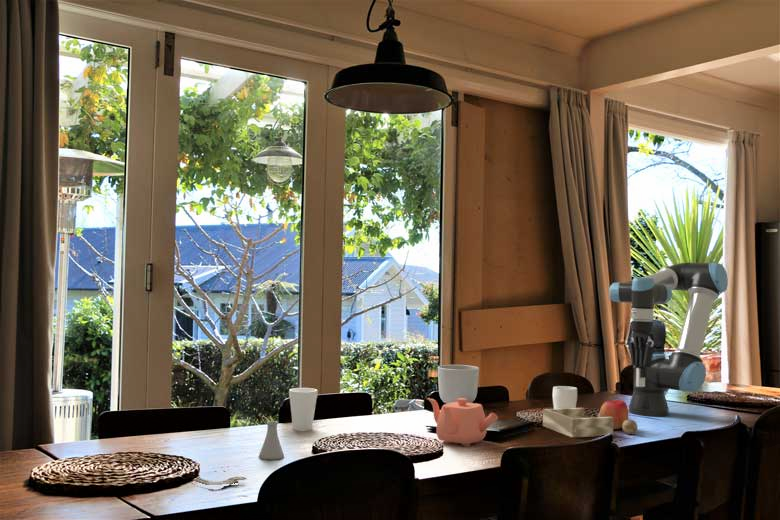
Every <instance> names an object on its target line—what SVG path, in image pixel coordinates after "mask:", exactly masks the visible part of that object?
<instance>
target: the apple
mask: <svg viewBox="0 0 780 520" xmlns="http://www.w3.org/2000/svg"><path fill="white" fill-rule="evenodd" d="M599 413H600V417H614V418H613V430H619V429H621V428H622V424H623V422H624V421H625V420H627V419H629V406H628V404H627V403H626V402H625V401H624V400H619V399H617V400H613V401H611V400H607V401H605V402H603V404H602V405H601V407H600V410H599Z"/></svg>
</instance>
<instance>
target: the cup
mask: <svg viewBox="0 0 780 520" xmlns="http://www.w3.org/2000/svg"><path fill="white" fill-rule="evenodd" d="M551 395H552V405H553V409H560V408H577V401H578V388H577V387H575V386H570V385H569V386H567V385H555V386H553V387H552V393H551Z"/></svg>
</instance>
